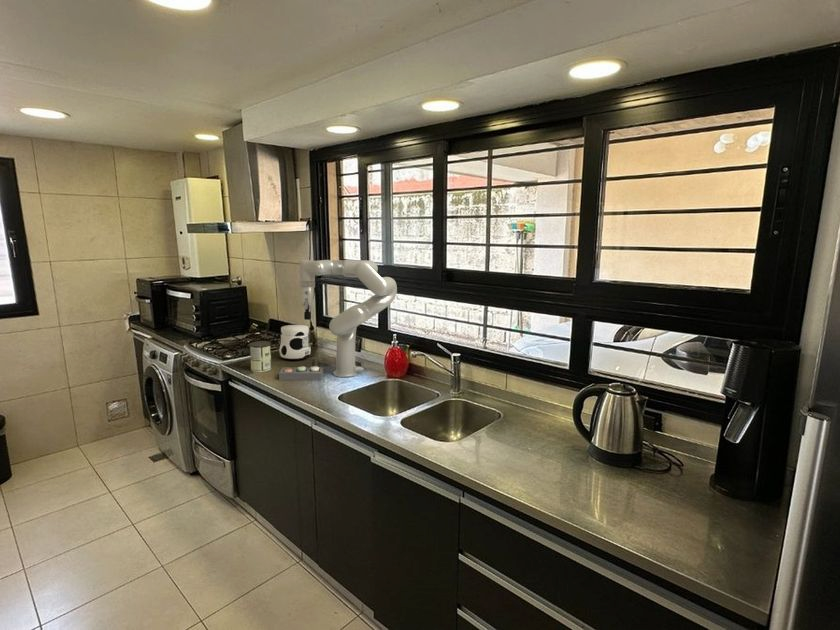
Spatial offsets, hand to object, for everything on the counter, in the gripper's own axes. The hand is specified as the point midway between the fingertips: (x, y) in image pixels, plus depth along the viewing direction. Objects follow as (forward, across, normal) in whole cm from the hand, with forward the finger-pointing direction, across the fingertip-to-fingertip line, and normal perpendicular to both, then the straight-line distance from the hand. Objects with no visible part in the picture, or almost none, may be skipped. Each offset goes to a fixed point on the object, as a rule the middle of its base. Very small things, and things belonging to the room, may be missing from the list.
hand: (307, 319), depth 225 cm
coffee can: (+27, 0, +24) cm, 36 cm away
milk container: (+27, +22, +10) cm, 37 cm away
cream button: (+24, -13, -5) cm, 28 cm away
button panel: (+27, -13, +2) cm, 30 cm away
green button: (+24, -13, +2) cm, 27 cm away
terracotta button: (+25, -13, +8) cm, 29 cm away
